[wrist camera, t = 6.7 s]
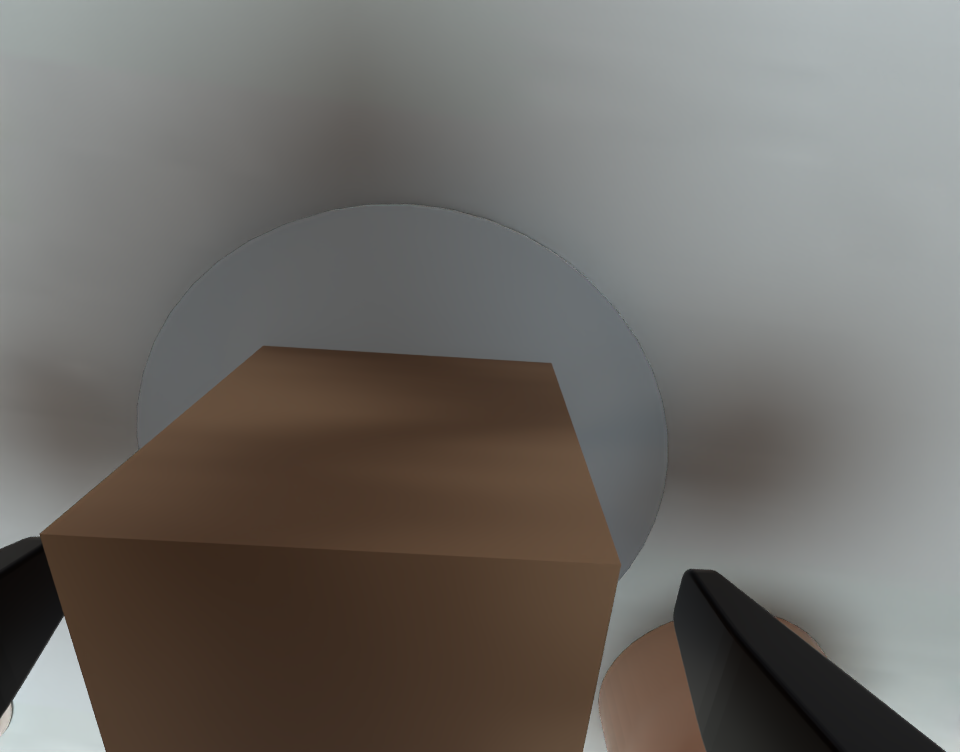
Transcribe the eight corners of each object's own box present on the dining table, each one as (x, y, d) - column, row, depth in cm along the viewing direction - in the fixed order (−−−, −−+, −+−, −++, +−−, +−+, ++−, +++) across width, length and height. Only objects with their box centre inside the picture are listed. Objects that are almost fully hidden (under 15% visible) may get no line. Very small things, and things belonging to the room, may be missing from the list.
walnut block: (551, 362, 9) (621, 565, 5) (524, 585, 11) (555, 887, 6) (263, 345, 9) (39, 534, 5) (285, 573, 11) (142, 872, 6)
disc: (696, 219, 9) (723, 225, 8) (611, 636, 13) (622, 676, 12) (126, 183, 9) (82, 186, 8) (204, 617, 13) (180, 656, 12)
